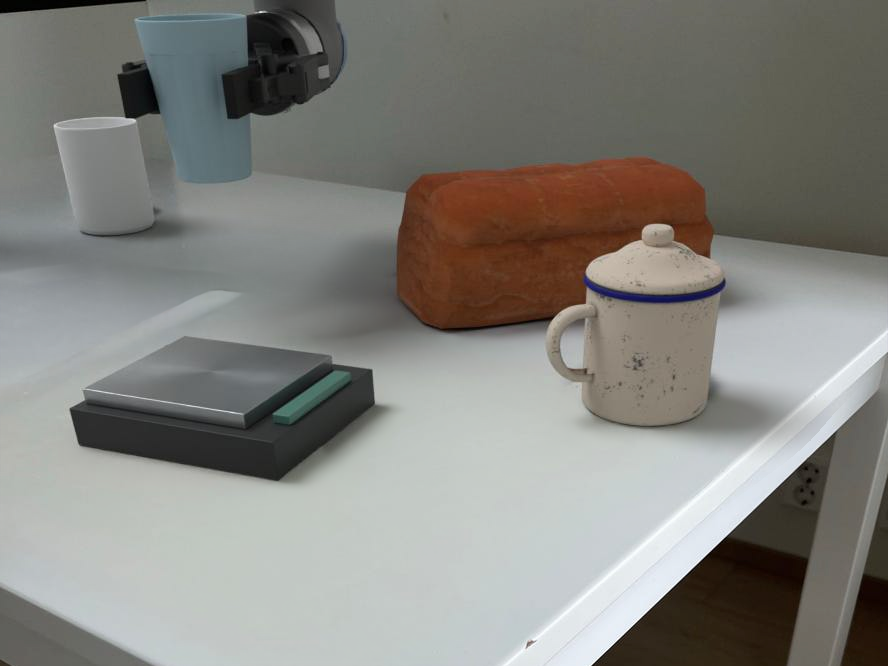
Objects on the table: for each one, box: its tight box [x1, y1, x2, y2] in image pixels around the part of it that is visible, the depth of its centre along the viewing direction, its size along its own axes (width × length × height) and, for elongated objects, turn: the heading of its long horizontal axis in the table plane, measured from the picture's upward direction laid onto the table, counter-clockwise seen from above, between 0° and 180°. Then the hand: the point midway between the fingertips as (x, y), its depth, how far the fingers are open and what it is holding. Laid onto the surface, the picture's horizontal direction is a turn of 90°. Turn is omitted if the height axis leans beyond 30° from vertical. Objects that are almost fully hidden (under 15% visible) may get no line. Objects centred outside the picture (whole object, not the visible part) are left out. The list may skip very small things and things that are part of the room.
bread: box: [395, 156, 716, 329], centre depth 87 cm, size 16×27×11 cm, turn 110°
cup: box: [134, 13, 253, 185], centre depth 73 cm, size 8×8×10 cm
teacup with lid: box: [545, 224, 727, 427], centre depth 66 cm, size 12×9×12 cm
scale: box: [68, 335, 376, 481], centre depth 66 cm, size 15×13×4 cm
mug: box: [53, 116, 155, 236], centre depth 112 cm, size 9×12×11 cm
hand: (178, 96), depth 69 cm, fingers closed on cup, 7 cm apart
